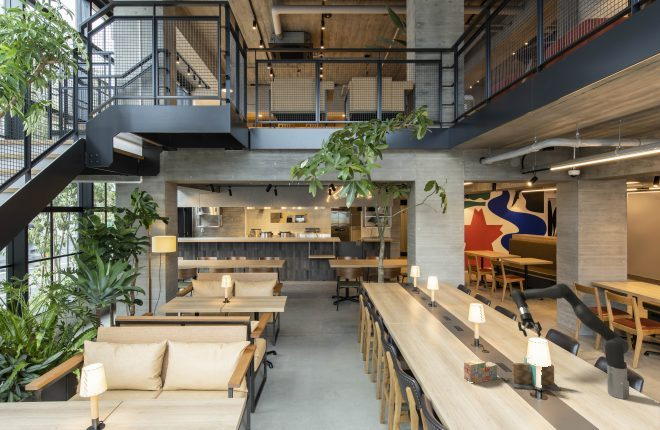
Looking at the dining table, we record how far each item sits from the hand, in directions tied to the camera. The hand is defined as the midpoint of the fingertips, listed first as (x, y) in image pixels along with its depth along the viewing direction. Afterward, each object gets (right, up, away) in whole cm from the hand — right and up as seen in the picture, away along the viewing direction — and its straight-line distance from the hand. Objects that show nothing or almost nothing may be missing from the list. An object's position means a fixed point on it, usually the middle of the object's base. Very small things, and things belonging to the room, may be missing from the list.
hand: (532, 336), depth 248 cm
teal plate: (-9, -24, -16) cm, 31 cm away
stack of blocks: (-39, -26, -8) cm, 47 cm away
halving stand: (-9, -25, -17) cm, 32 cm away
